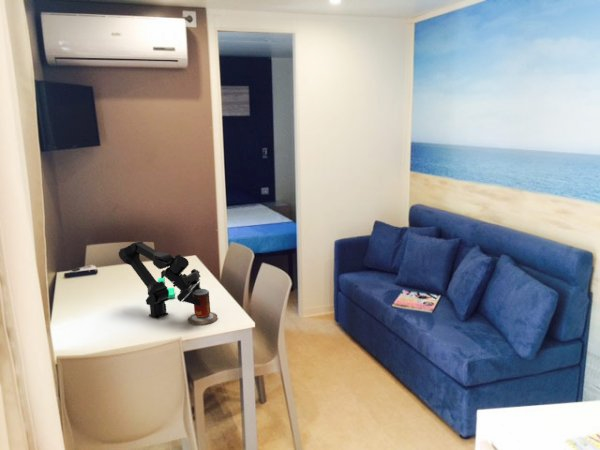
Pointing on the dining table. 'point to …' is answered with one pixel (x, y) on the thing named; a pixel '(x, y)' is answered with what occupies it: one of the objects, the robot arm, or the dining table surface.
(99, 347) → the dining table surface
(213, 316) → the brown rimmed plate
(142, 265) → the robot arm
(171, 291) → the camera mount
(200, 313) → the soda can
